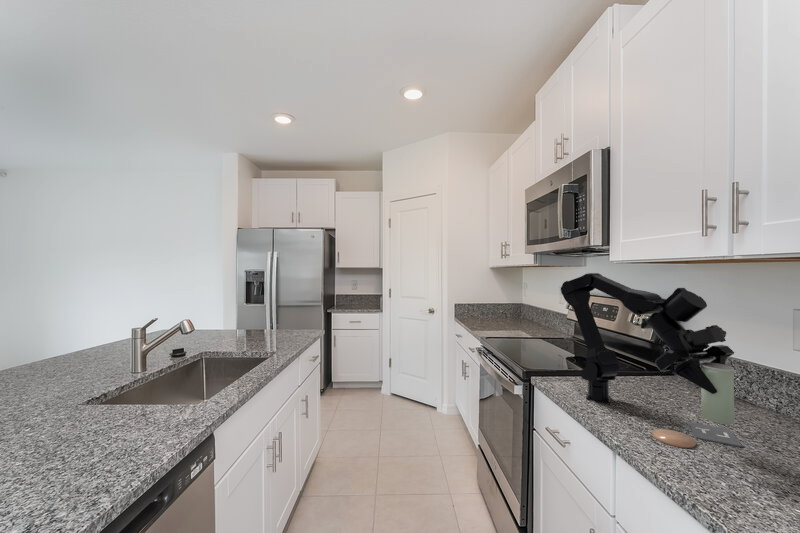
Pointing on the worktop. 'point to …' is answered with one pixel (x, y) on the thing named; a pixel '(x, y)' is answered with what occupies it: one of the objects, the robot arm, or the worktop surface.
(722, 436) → the tile
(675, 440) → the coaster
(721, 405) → the green tumbler
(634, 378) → the worktop surface
